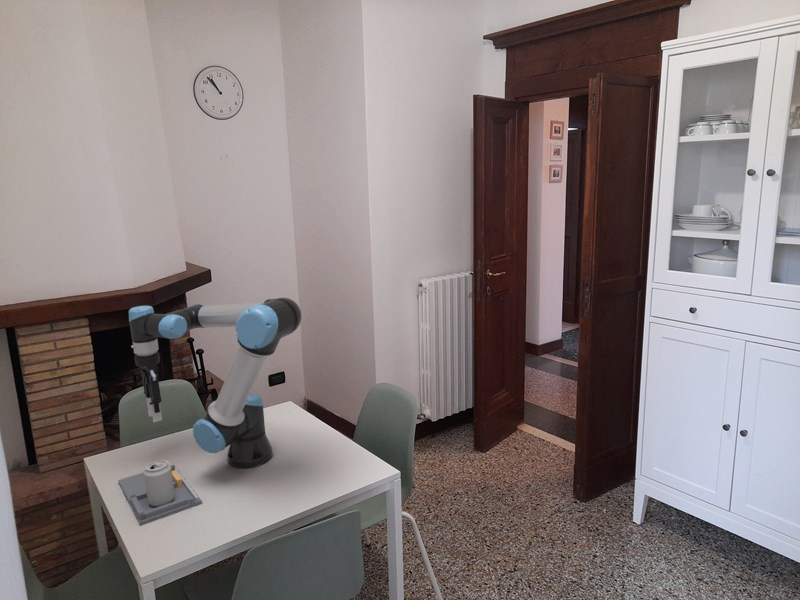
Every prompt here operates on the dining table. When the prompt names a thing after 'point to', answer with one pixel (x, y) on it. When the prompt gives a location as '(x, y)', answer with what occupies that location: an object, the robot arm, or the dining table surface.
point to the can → (159, 483)
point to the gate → (175, 475)
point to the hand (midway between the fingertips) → (155, 418)
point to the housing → (148, 513)
